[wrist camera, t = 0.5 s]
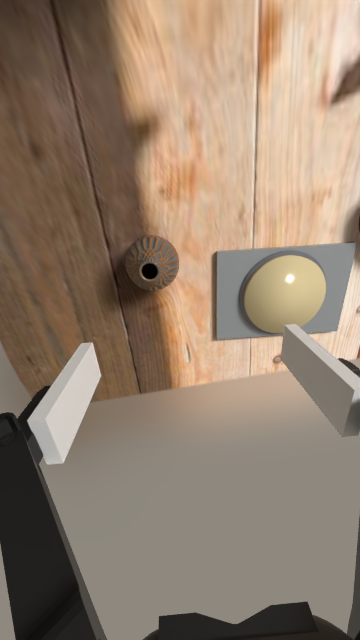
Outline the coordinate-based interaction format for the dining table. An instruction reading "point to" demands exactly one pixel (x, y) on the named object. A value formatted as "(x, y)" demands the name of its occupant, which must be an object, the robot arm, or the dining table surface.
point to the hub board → (281, 289)
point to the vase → (152, 262)
